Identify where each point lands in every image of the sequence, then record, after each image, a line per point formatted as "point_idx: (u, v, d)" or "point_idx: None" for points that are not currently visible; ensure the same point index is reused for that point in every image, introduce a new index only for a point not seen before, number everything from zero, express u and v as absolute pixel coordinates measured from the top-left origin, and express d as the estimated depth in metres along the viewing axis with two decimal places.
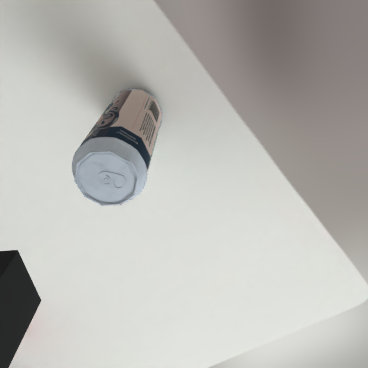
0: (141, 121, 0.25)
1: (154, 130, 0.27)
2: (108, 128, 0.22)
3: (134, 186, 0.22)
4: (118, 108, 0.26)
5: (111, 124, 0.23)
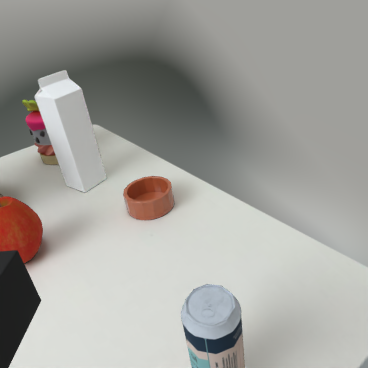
0: (237, 360, 0.29)
1: None
2: None
3: (203, 323, 0.26)
4: None
5: None
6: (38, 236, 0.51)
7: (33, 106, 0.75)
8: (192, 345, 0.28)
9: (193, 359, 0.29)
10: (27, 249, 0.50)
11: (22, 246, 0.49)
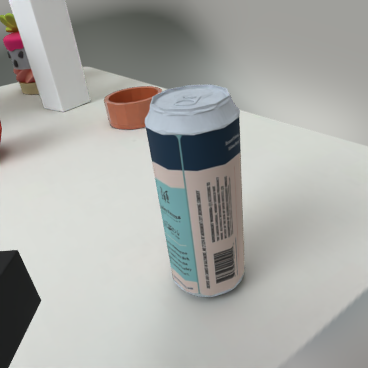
0: (232, 201, 0.18)
1: (211, 231, 0.18)
2: None
3: (176, 111, 0.16)
4: None
5: None
6: None
7: (11, 21, 0.66)
8: (160, 166, 0.17)
9: (164, 201, 0.19)
10: None
11: None
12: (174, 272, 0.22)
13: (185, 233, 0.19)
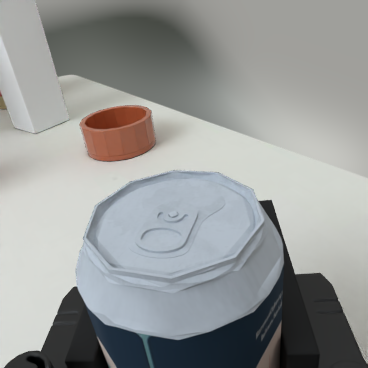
0: None
1: None
2: None
3: (137, 275, 0.06)
4: None
5: None
6: None
7: None
8: (111, 359, 0.08)
9: None
10: None
11: None
12: None
13: None
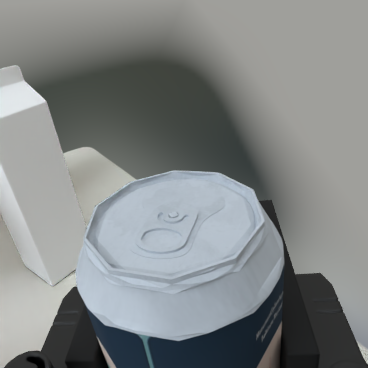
0: None
1: None
2: None
3: (137, 275, 0.06)
4: None
5: None
6: None
7: None
8: (111, 360, 0.08)
9: None
10: None
11: None
12: None
13: None
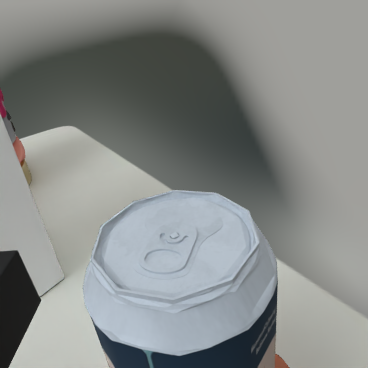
0: None
1: None
2: None
3: (141, 295, 0.07)
4: None
5: None
6: None
7: None
8: None
9: None
10: None
11: None
12: None
13: None
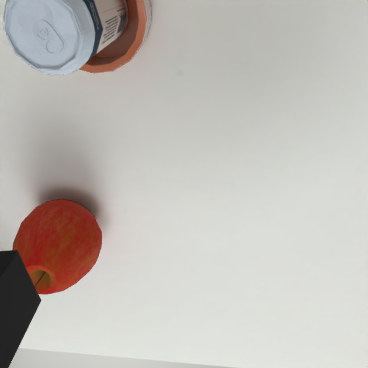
0: (110, 17, 0.22)
1: (111, 37, 0.24)
2: None
3: (65, 63, 0.19)
4: None
5: None
6: (89, 221, 0.35)
7: None
8: None
9: None
10: (101, 234, 0.36)
11: (101, 244, 0.36)
12: None
13: None
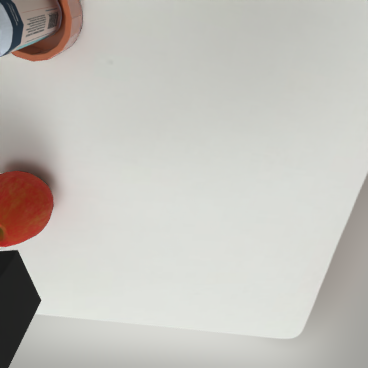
0: (34, 15, 0.28)
1: (40, 31, 0.30)
2: None
3: None
4: None
5: None
6: (40, 188, 0.41)
7: None
8: None
9: None
10: (52, 200, 0.43)
11: (51, 208, 0.42)
12: None
13: (31, 42, 0.31)
